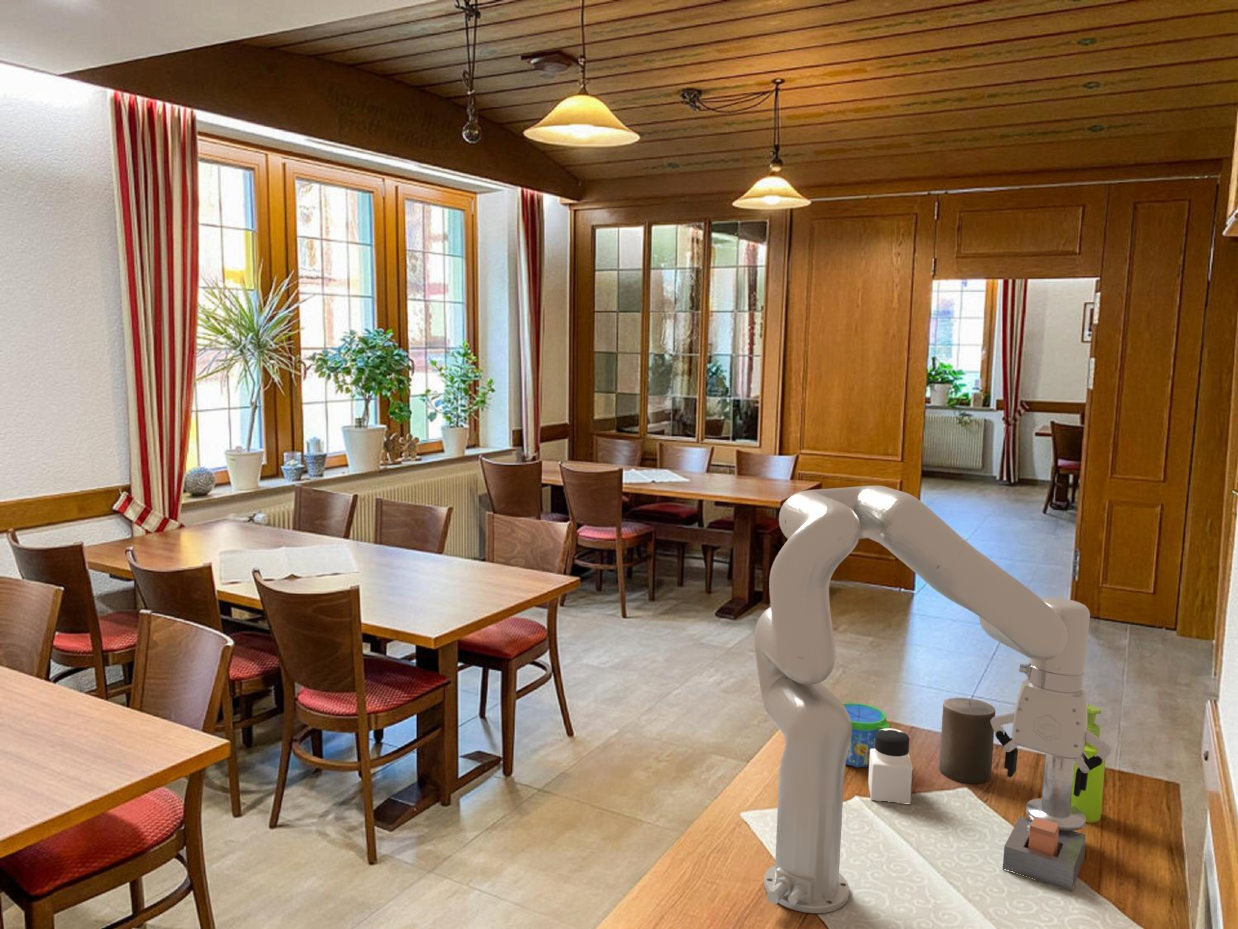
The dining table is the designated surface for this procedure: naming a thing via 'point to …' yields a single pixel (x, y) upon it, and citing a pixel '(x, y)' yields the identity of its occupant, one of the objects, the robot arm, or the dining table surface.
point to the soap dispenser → (1091, 776)
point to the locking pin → (1043, 836)
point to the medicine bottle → (890, 767)
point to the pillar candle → (967, 740)
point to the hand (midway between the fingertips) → (1043, 783)
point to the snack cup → (863, 732)
